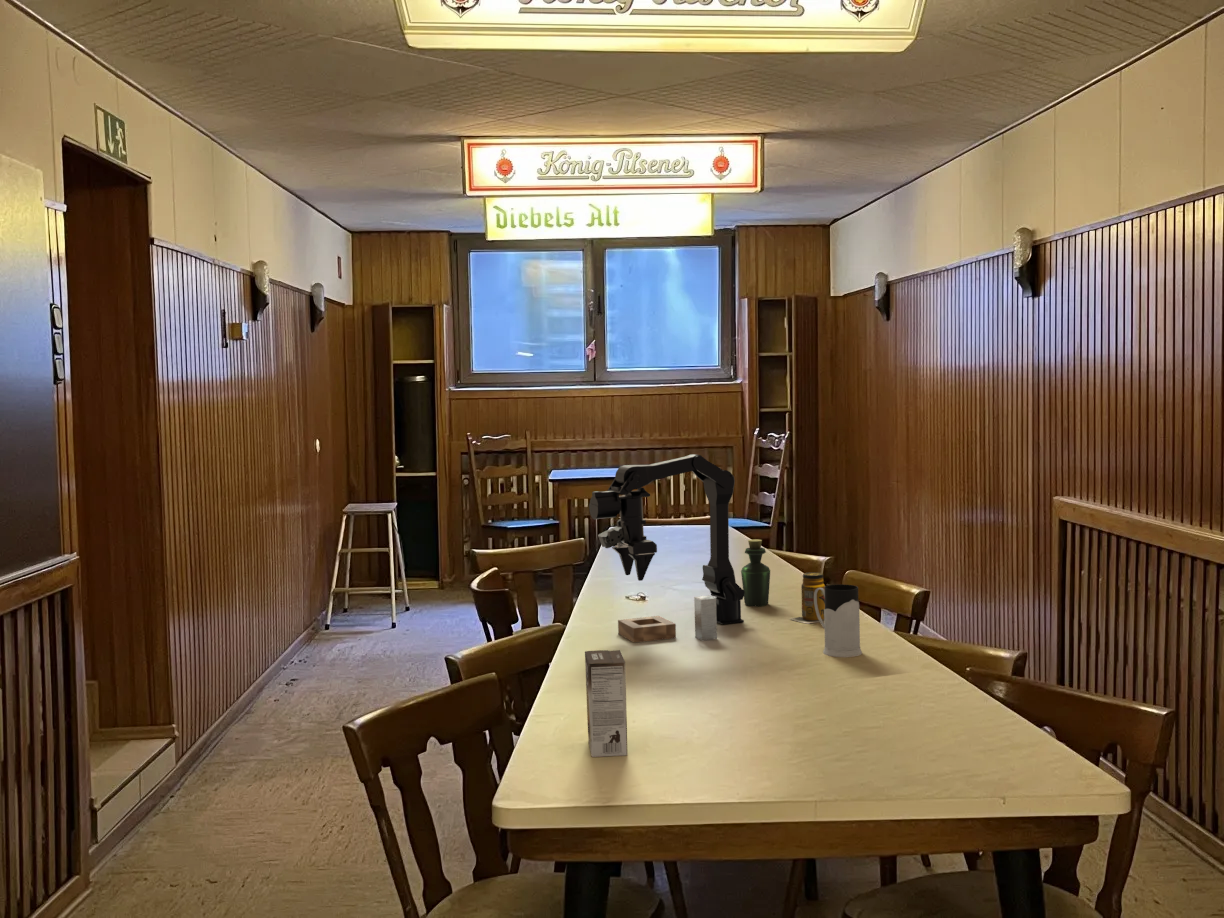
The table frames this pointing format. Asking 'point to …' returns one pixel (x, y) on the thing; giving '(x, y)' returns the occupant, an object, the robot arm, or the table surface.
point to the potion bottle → (755, 576)
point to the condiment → (811, 598)
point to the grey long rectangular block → (705, 618)
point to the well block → (646, 629)
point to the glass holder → (840, 620)
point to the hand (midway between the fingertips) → (634, 577)
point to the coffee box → (606, 703)
